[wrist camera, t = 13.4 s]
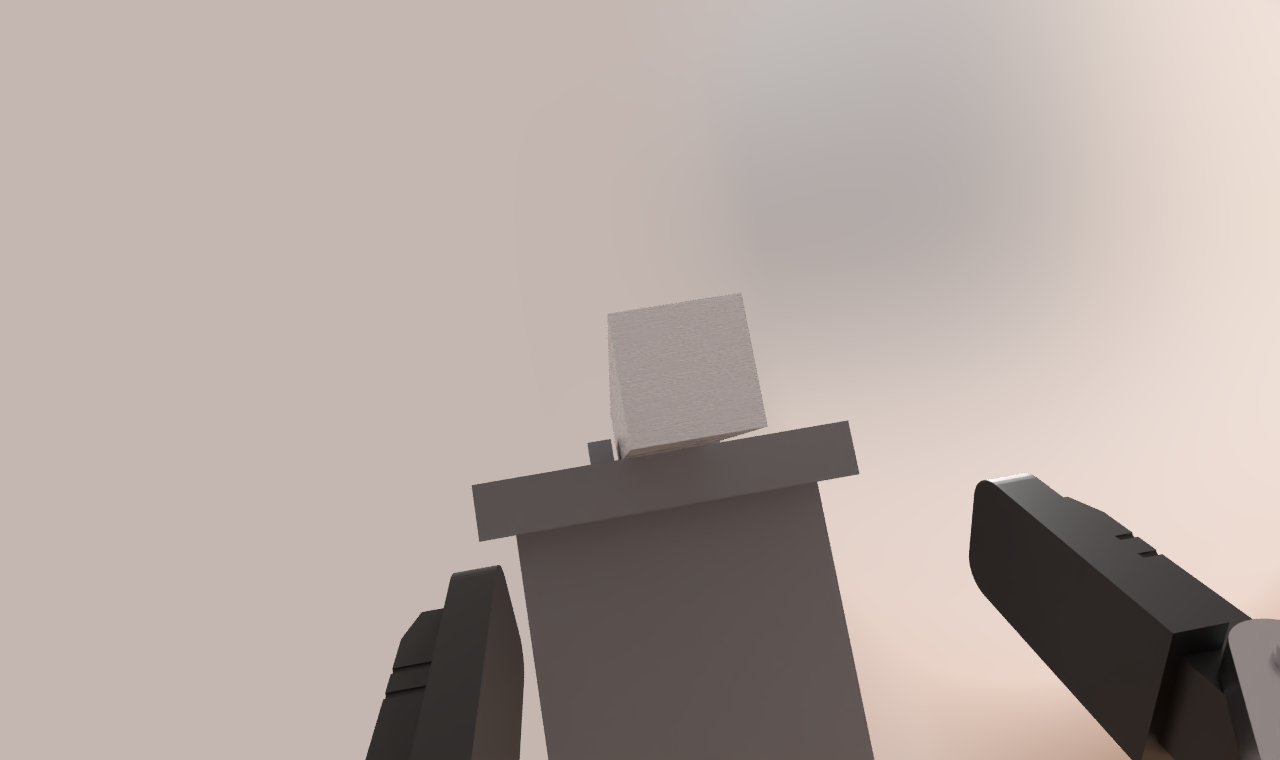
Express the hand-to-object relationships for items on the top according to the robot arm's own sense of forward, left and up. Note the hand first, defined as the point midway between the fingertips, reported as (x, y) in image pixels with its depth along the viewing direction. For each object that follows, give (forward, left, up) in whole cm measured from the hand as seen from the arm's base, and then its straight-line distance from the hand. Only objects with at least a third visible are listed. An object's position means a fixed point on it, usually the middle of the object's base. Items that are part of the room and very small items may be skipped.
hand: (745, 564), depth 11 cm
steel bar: (+12, +9, +2) cm, 15 cm away
